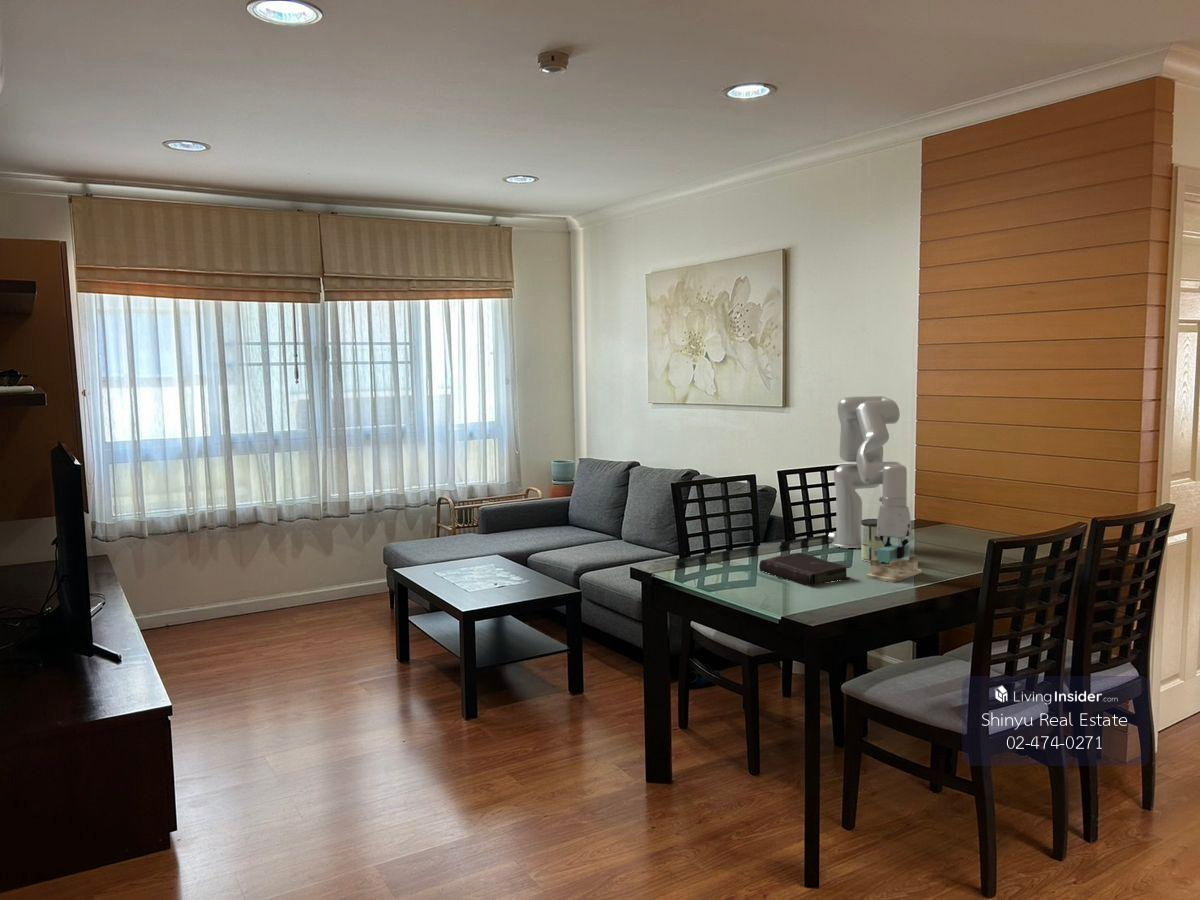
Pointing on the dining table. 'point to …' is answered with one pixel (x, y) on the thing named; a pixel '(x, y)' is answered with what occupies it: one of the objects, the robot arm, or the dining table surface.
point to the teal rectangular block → (891, 553)
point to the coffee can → (870, 540)
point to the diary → (804, 569)
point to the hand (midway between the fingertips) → (894, 556)
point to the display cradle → (894, 569)
